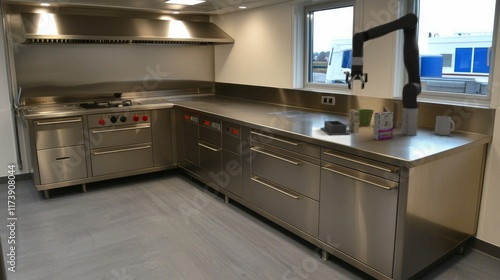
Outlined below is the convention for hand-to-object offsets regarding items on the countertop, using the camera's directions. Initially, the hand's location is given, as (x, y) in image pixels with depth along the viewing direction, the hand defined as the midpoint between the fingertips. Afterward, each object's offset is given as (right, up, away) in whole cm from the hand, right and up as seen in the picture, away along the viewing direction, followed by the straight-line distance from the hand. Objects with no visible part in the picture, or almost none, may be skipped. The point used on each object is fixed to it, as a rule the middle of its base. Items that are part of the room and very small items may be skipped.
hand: (356, 89), depth 262 cm
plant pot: (+13, -23, +25) cm, 37 cm away
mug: (+55, -30, -7) cm, 63 cm away
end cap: (-13, -28, +4) cm, 31 cm away
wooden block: (+30, -24, +20) cm, 43 cm away
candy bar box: (+11, -33, -18) cm, 39 cm away
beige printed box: (0, -28, +6) cm, 28 cm away
